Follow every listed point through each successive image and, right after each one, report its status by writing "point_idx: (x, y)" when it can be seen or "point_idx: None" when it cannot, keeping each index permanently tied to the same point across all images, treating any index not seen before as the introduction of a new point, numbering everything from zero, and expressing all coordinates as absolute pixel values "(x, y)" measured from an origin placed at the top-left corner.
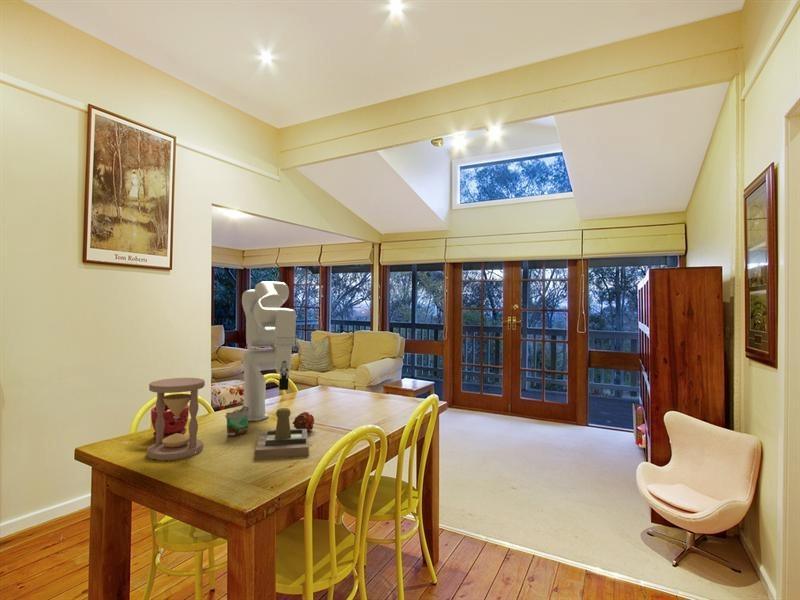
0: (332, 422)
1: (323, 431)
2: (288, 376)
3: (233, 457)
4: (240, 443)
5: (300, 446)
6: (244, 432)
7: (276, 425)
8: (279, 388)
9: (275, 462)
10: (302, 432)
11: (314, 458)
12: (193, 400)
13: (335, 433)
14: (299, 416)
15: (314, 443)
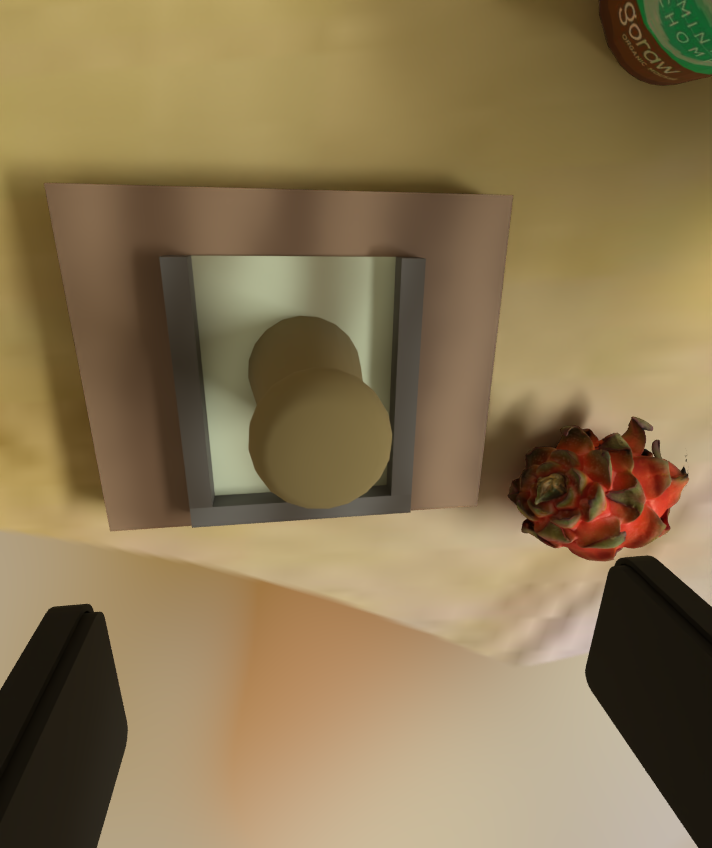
0: None
1: (517, 563)
2: (708, 845)
3: (113, 11)
4: (427, 48)
5: (121, 486)
6: (632, 62)
7: (306, 347)
8: (42, 630)
9: (6, 328)
10: None
11: (74, 534)
12: None
13: (465, 617)
14: (597, 488)
15: (324, 526)
